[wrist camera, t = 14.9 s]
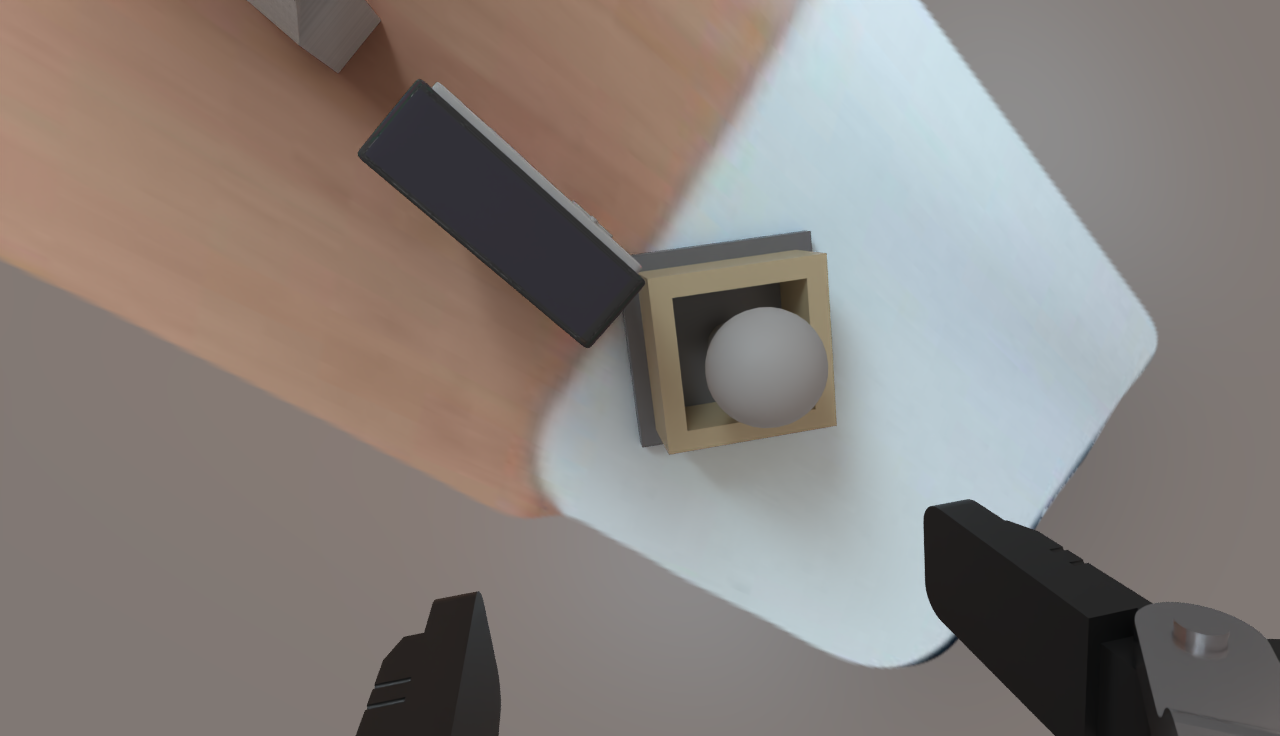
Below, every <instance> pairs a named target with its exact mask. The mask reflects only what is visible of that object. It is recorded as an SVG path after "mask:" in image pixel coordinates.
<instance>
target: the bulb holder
mask: <svg viewBox="0 0 1280 736" xmlns="http://www.w3.org/2000/svg"><path fill="white" fill-rule="evenodd" d="M631 256H632V257H633V258H634V259H635V260H636V261H637V262H638V263H639V264H640V265H641V266H642V269H641V271H640V272H639V273H638V275H640V276H641V277H642V278H643V279H644V280H645V285H644V287H643V288H642V289H641V290H640V291H639V293H638V294H637V295H636V296H635V297H634V298H633V299H632V301H631V302H630V303H629V304H628V305H627V306H626V307H625V309H624V310H623V317H624V324H625V332H626V339H627V346H628V354H629V361H630V369H631V376H632V384H633V391H634V398H635V406H636V413H637V421H638V428H639V436H640V443H641V445H642V447H649V446H654V445H660V444H664V446H665V448H666V449H667V451H668V453H669V455H670V454H675V453H681V452H687V451H693V450H698V449H704V448H710V447H716V446H722V445H727V444H733V443H739V442H745V441H750V440H756V439H762V438H768V437H773V436H779V435H785V434H791V433H797V432H802V431H808V430H814V429H820V428H825V427H831V426H837V422H836V405H835V388H834V371H833V354H832V337H831V321H830V304H829V287H828V270H827V253H819V252H812V245H811V231H800V232H792V233H785V234H778V235H771V236H763V237H756V238H749V239H742V240H735V241H727V242H720V243H713V244H706V245H699V246H691V247H684V248H677V249H670V250H663V251H655V252H648V253H641V254H634V255H631ZM759 307H774V308H780V309H784V310H786V311H789V312H792V313H794V314H797V315H798V316H800V317H801V318H803V319H804V320H806V321H807V322H808V323H809V324H810V325H811V326H812V328H813V329H814V330H815V331H816V332H817V334H818V335H819V337H820V339H821V340H822V342H823V345H824V348H825V350H826V354H827V360H828V378H827V382H826V386H825V389H824V391H823V393H822V396H821V397H820V399H819V400H818V402H817V403H816V405H815V406H814V407H813V408H812V409H811V410H810V411H809V412H808V413H807V414H806V415H804V416H803V417H802V418H800V419H799V420H797V421H795V422H793V423H791V424H788V425H784V426H781V427H775V428H758V427H752V426H749V425H746V424H743V423H740V422H738V421H736V420H735V419H733V418H731V417H730V416H729V415H728V414H726V413H725V412H724V411H723V410H722V409H721V408H720V407H719V406H718V404H717V403H716V401H715V400H714V399H713V397H712V395H711V393H710V390H709V388H708V385H707V380H706V374H705V360H706V355H707V350H708V338H709V335H710V333H711V332H712V330H713V329H714V328H715V327H716V326H718V325H720V324H722V323H725V322H727V321H728V320H730V319H731V318H732V317H734V316H736V315H738V314H740V313H742V312H744V311H747V310H751V309H755V308H759Z"/></svg>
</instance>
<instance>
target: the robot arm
mask: <svg viewBox="0 0 1280 736" xmlns="http://www.w3.org/2000/svg"><path fill="white" fill-rule="evenodd" d="M924 557H925V586H926V591H927V595H928V599H929V601H930V604H931V606H932V608H933V610H934V612H935V613H936V615H937V616H938V618H939V619H940V620H941V621H942V622H943V623H944V624H945V625H946V626H947V627H948V628H949V629H950V630H951V631H952V632H953V633H954V634H955V635H956V636H957V637H958V638H959V639H960V640H961V641H962V642H963V643H964V644H965V645H966V646H967V648H969V650H971V651H972V653H973V654H975V656H976V657H977V658H978V659H979V660H981V662H982V663H983V664H985V666H986V667H987V668H988V669H989V670H990V671H991V672H992V673H993V674H994V675H995V676H996V677H997V678H998V679H999V680H1000V681H1001V682H1002V683H1003V684H1004V685H1005V686H1006V687H1007V688H1008V689H1009V690H1010V691H1011V692H1012V693H1013V694H1014V695H1015V696H1016V697H1017V698H1018V699H1019V700H1020V701H1021V702H1022V703H1023V704H1024V705H1025V706H1026V707H1027V708H1028V709H1029V710H1030V711H1031V712H1032V713H1033V714H1034V715H1035V716H1036V717H1037V718H1038V719H1039V720H1040V721H1041V722H1042V723H1043V724H1044V725H1045V726H1046V727H1047V728H1048V729H1049V730H1050V731H1051V732H1052V733H1053V734H1054V735H1055V736H1280V639H1266V638H1265V637H1264V636H1263V635H1262V634H1261V633H1260V632H1259V631H1257V630H1256V629H1255V628H1254V627H1252V626H1250V625H1249V624H1247V623H1245V622H1244V621H1242V620H1240V619H1238V618H1236V617H1233V616H1231V615H1229V614H1226V613H1224V612H1221V611H1218V610H1215V609H1212V608H1208V607H1204V606H1200V605H1194V604H1189V603H1179V602H1160V603H1154V604H1153V603H1151V602H1149V601H1148V600H1146V599H1145V598H1143V597H1141V596H1140V595H1138V594H1137V593H1135V592H1134V591H1132V590H1130V589H1129V588H1127V587H1125V586H1124V585H1122V584H1121V583H1119V582H1118V581H1116V580H1115V579H1113V578H1111V577H1109V576H1108V575H1106V574H1105V573H1103V572H1102V571H1100V570H1098V569H1097V568H1095V567H1094V566H1092V565H1091V564H1089V563H1084V562H1083V560H1082V559H1081V558H1079V557H1078V556H1076V555H1075V554H1073V553H1072V552H1070V551H1068V550H1063V547H1062V546H1061V545H1059V544H1057V543H1056V542H1054V541H1053V540H1051V539H1049V538H1048V537H1046V536H1044V535H1043V534H1041V533H1040V532H1038V531H1036V530H1033V529H1030V528H1027V527H1024V526H1021V525H1019V524H1016V523H1013V522H1010V521H1007V520H1006V521H1005V520H1003V519H1002V518H1000V517H998V516H997V515H995V514H994V513H992V512H991V511H989V510H988V509H986V508H985V507H983V506H982V505H980V504H979V503H977V502H975V501H973V500H970V499H967V500H961V501H956V502H951V503H946V504H940V505H935V506H930V507H928V508H927V509H926V511H925V514H924ZM500 711H501V695H500V683H499V675H498V669H497V665H496V660H495V655H494V650H493V645H492V640H491V635H490V630H489V626H488V621H487V616H486V611H485V606H484V602H483V598H482V595H481V593H480V592H479V591H478V592H473V593H467V594H462V595H457V596H452V597H446V598H441V599H436V600H434V602H433V604H432V608H431V612H430V615H429V618H428V621H427V625H426V628H425V632H424V633H421V634H416V635H411V636H406V637H403V639H402V640H401V641H400V642H399V643H398V644H397V645H396V646H395V648H394V649H393V650H392V651H391V652H390V653H389V654H388V655H387V657H386V658H385V659H384V660H383V662H382V665H381V668H380V671H379V673H378V676H377V679H376V682H375V689H373V690H372V693H371V695H370V698H369V701H368V704H367V710H365V712H364V715H363V718H362V720H361V723H360V726H359V728H358V731H357V734H356V736H498V735H499V722H500Z"/></svg>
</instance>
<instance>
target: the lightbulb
mask: <svg viewBox="0 0 1280 736" xmlns="http://www.w3.org/2000/svg"><path fill="white" fill-rule="evenodd" d="M705 374H706V380H707V385H708V388H709V390H710V393H711V395H712V397H713V399H714V400H715V401H716V403H717V404H718V406H719V407H720V408H721V409H722V410H723V411H724V412H725V413H726V414H728V415H729V416H730V417H731V418H733V419H735V420H736V421H738V422H740V423H743V424H746V425H749V426H752V427H758V428H775V427H781V426H784V425H788V424H791V423H793V422H795V421H797V420H799V419H800V418H802V417H803V416H804V415H806V414H807V413H808V412H809V411H810V410H811V409H812V408H813V407H814V406H815V405H816V403H817V402H818V400H819V399H820V397H821V396H822V393H823V391H824V389H825V386H826V382H827V378H828V360H827V354H826V350H825V348H824V345H823V342H822V340H821V339H820V337H819V335H818V334H817V332H816V331H815V330H814V329H813V328H812V326H811V325H810V324H809V323H808V322H807V321H806V320H804V319H803V318H801V317H800V316H798V315H797V314H794V313H792V312H789V311H786V310H784V309H780V308H774V307H759V308H755V309H751V310H747V311H744V312H742V313H740V314H738V315H736V316H734V317H732V318H731V319H730V320H728V321H727V322H725V323H722V324H720V325H718V326H716V327H715V328H714V329H713V330H712V332H711V333H710V335H709V338H708V350H707V355H706V360H705Z"/></svg>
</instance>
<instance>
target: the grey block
mask: <svg viewBox="0 0 1280 736" xmlns="http://www.w3.org/2000/svg"><path fill="white" fill-rule="evenodd" d="M247 1H248V2H250V3H251V4H252V5H253V6H254V7H255V8H257V9H258V10H259V11H260V12H261V13H262V14H263V15H265V16H266V17H267V18H268V19H269V20H270V21H272V22H273V23H274V24H275V25H276V26H277V27H278V28H280V29H281V30H282V31H283V32H284V33H285V34H287V35H288V36H289V37H290V38H291V39H292V40H294V41H295V42H296V43H297V44H298V45H299V46H301V47H302V48H303V49H305V50H306V51H308V52H309V53H310V54H312V55H313V56H315V57H316V58H317V59H319V60H320V61H322V62H323V63H324V64H326V65H327V66H328V67H330V68H331V69H333V70H334V71H335V72H337V73H339V72H340V71H341V70H342V68H343V67H344V66H345V65H346V63H347V62H348V61H349V60H350V58H351V57H352V56H353V55H354V53H355V52H356V51H357V50H358V48H359V47H360V46H361V45H362V43H363V42H364V41H365V40H366V38H367V37H368V36H369V35H370V34H371V32H372V31H373V30H374V29H375V27H376V26H377V25H378V24H379V22H380V21H381V19H380V18H379V17H378V16H377V14H376V13H375V12H374V11H373V9H372V8H371V7H370V6H369V4H368V3H367V2H366V1H365V0H247Z"/></svg>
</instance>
